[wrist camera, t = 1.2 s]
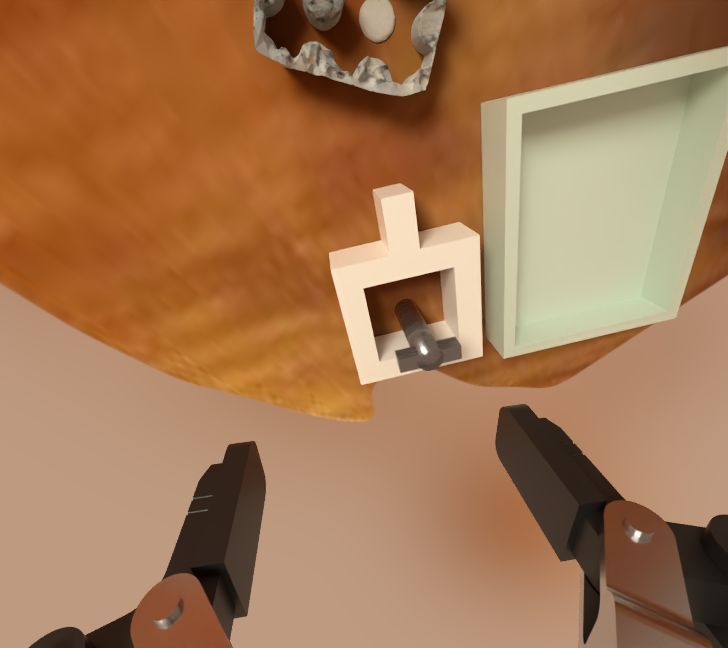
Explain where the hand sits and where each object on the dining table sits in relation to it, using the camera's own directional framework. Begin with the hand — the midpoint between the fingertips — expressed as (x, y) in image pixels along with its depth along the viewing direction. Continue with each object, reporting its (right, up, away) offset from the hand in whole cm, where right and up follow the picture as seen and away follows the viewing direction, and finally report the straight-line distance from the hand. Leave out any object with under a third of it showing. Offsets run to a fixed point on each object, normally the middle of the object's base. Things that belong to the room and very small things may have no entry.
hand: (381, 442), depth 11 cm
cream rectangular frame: (+3, +8, +19) cm, 21 cm away
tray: (+17, +13, +18) cm, 28 cm away
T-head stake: (+3, +5, +20) cm, 21 cm away
